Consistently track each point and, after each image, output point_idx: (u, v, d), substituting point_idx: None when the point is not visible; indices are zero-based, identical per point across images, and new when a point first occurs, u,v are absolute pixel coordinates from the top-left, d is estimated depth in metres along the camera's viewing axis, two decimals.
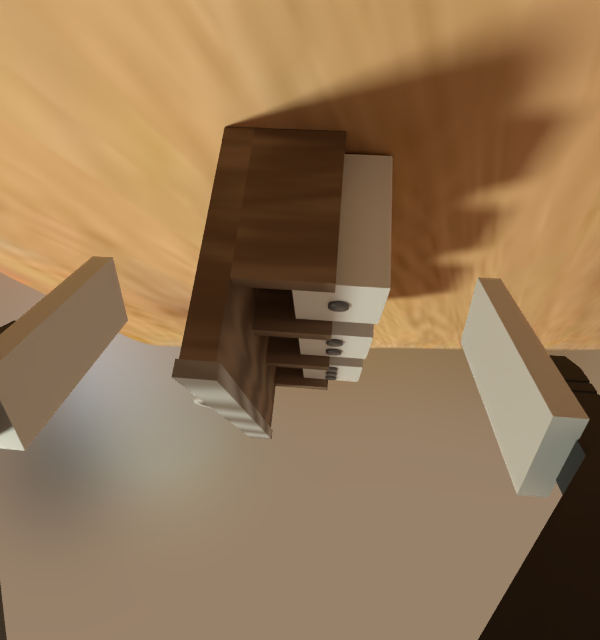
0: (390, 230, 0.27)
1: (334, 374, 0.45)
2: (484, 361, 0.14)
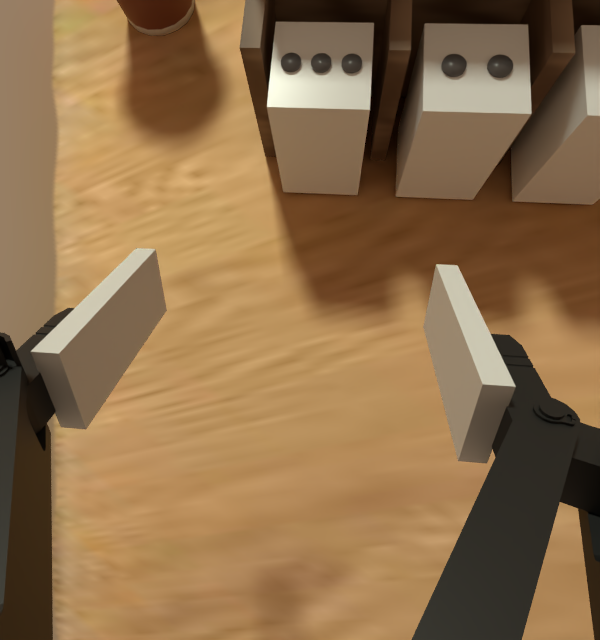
0: None
1: (323, 66, 0.26)
2: (438, 342, 0.14)
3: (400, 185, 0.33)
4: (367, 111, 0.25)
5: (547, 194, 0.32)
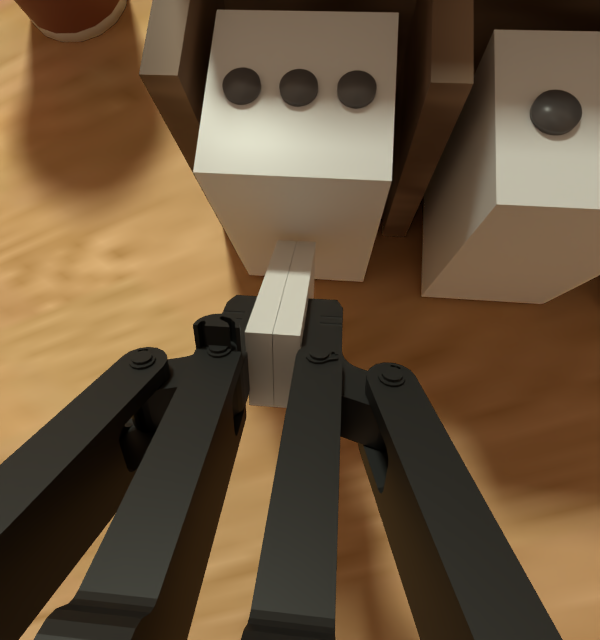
0: None
1: (303, 95, 0.13)
2: None
3: (431, 286, 0.21)
4: (386, 183, 0.13)
5: None
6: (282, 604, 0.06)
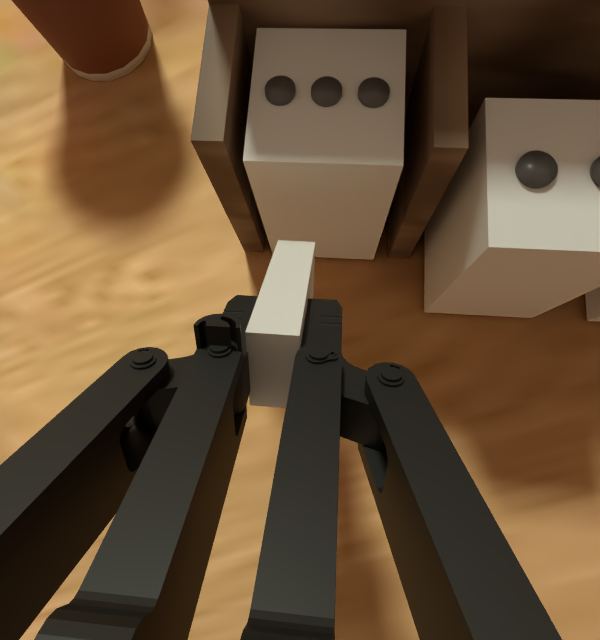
0: None
1: (330, 97, 0.17)
2: None
3: (433, 304, 0.23)
4: (399, 168, 0.16)
5: None
6: (282, 605, 0.06)
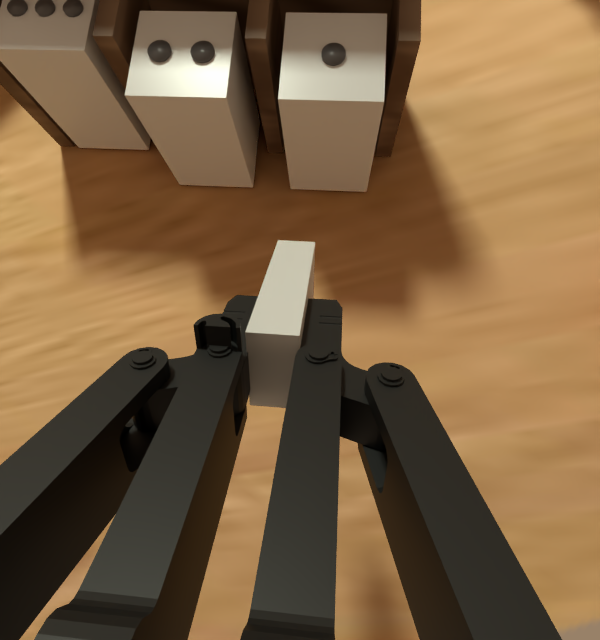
0: (375, 144, 0.28)
1: (45, 10, 0.27)
2: None
3: (173, 172, 0.33)
4: (83, 52, 0.26)
5: (316, 181, 0.33)
6: (282, 605, 0.06)
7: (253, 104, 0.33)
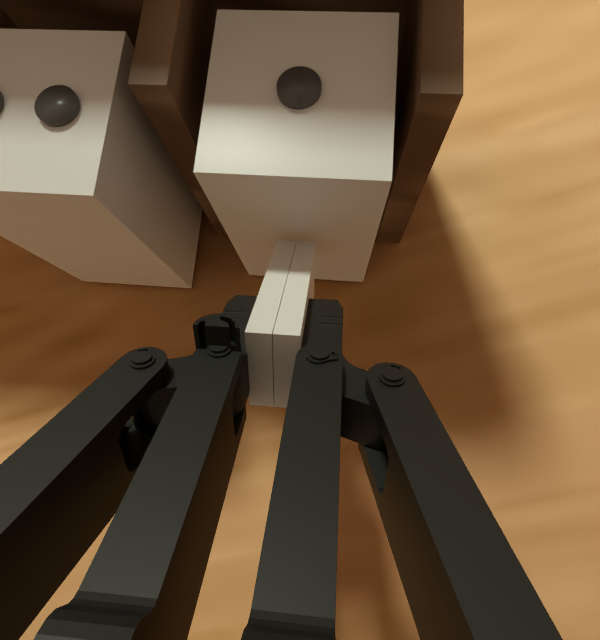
0: (376, 234, 0.17)
1: None
2: None
3: (66, 270, 0.22)
4: None
5: None
6: (282, 605, 0.06)
7: None
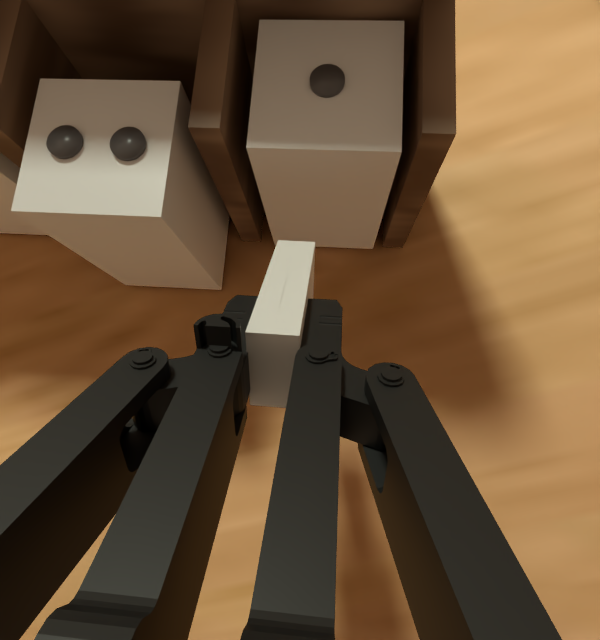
0: None
1: None
2: None
3: (113, 276, 0.25)
4: None
5: (307, 238, 0.25)
6: (282, 605, 0.06)
7: None
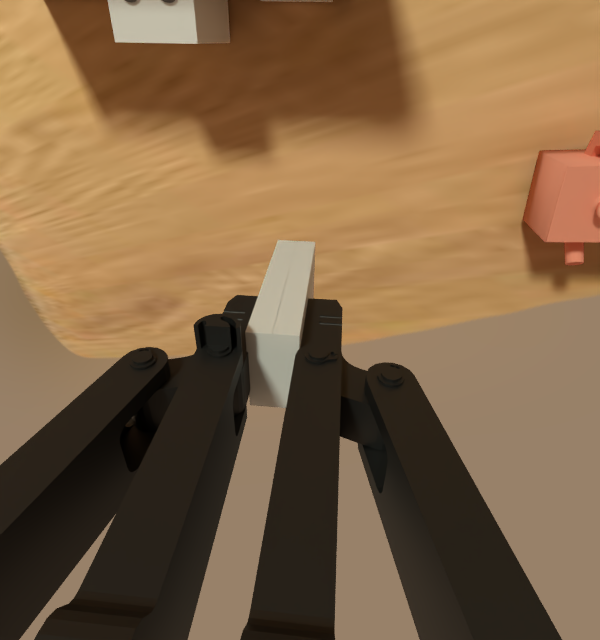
0: None
1: None
2: None
3: None
4: None
5: (284, 0, 0.36)
6: (282, 605, 0.06)
7: None
